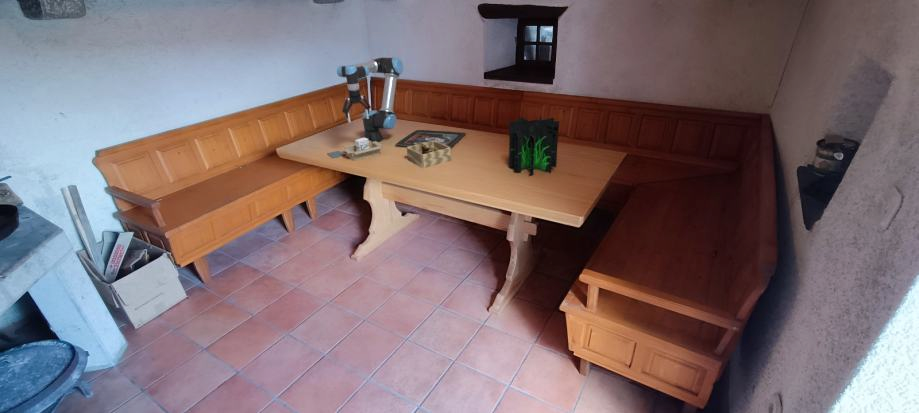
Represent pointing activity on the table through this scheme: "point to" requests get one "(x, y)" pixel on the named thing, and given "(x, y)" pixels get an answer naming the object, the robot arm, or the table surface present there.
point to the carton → (363, 151)
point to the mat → (335, 154)
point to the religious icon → (431, 138)
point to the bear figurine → (426, 149)
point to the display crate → (429, 154)
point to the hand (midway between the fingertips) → (358, 120)
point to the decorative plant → (533, 145)
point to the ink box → (361, 144)
